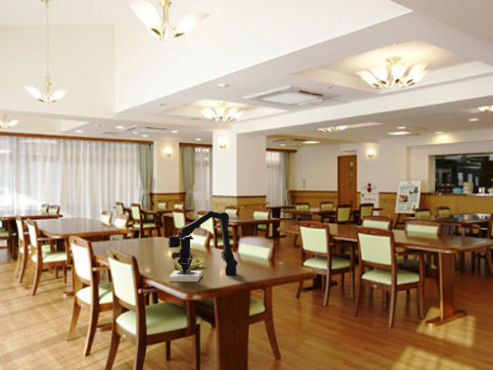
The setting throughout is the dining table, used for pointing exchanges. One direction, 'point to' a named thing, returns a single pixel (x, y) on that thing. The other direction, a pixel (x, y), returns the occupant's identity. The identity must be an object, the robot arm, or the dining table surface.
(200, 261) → the plastic component
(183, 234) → the robot arm
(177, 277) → the white square base plate
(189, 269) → the servo
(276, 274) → the dining table surface
